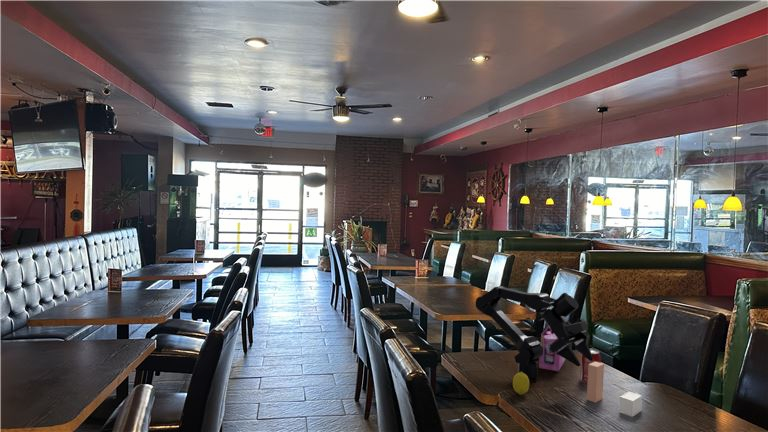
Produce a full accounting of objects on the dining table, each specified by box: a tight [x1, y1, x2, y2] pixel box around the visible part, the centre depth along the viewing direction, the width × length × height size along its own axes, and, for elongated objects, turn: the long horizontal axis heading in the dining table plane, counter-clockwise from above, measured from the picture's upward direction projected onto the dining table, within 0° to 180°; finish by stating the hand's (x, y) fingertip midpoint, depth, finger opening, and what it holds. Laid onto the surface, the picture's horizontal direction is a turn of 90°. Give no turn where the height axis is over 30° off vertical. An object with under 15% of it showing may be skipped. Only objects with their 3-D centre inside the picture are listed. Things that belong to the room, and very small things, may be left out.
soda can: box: [579, 348, 602, 385], centre depth 176 cm, size 7×7×12 cm
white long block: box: [617, 391, 643, 417], centre depth 156 cm, size 18×7×6 cm, turn 41°
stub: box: [586, 362, 605, 403], centre depth 159 cm, size 3×5×12 cm, turn 131°
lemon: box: [512, 372, 530, 396], centre depth 163 cm, size 6×6×8 cm
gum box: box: [538, 325, 566, 372], centre depth 198 cm, size 24×8×14 cm, turn 151°
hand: (585, 363), depth 162 cm, fingers open, 9 cm apart
